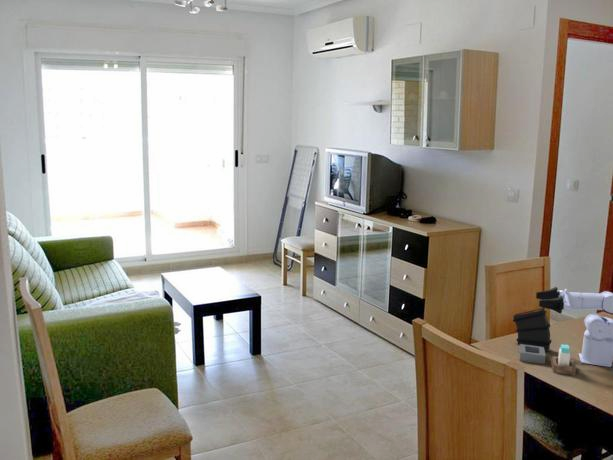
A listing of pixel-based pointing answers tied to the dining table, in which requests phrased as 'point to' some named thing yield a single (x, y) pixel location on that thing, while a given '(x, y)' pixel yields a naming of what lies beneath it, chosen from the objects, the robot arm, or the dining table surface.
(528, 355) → the port panel
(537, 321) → the black piece
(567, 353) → the plug
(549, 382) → the dining table surface
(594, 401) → the dining table surface
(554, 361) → the brown wooden frame
